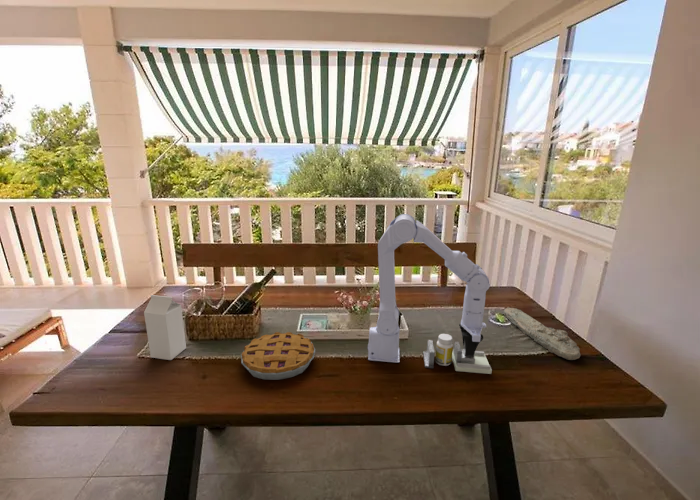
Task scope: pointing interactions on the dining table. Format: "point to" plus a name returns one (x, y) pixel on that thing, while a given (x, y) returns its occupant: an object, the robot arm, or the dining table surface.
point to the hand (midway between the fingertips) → (468, 351)
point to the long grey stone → (544, 334)
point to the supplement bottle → (444, 350)
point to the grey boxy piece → (462, 355)
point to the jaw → (429, 355)
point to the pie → (278, 355)
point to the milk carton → (164, 327)
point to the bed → (478, 367)
